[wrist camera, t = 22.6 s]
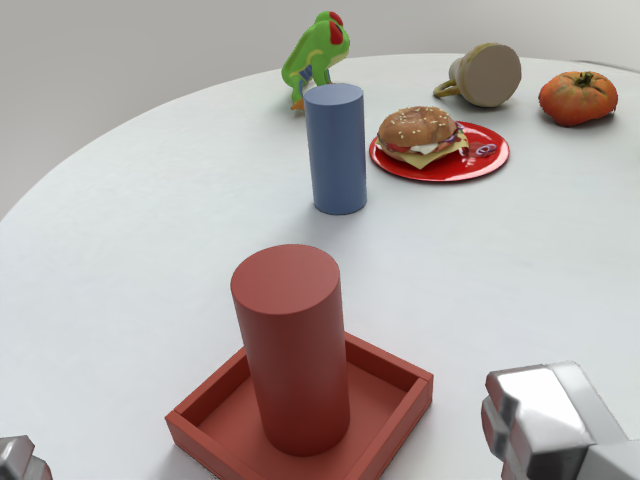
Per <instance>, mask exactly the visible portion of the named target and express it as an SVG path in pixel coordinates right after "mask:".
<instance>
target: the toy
mask: <svg viewBox="0 0 640 480" xmlns="http://www.w3.org/2000/svg"><path fill="white" fill-rule="evenodd" d="M349 46H350V40H349V36H348V34H347V33H346V31H345V30H344V29H343V22H342V20H341V19H340V17H339V16H338V15H337V14H336V13H334V12H329V11H325V12H322V13H320V14H319V15H318V16H317V18H316V21H315V23H314V25H312V26H311V27H310V28H309V29H308V30H307V31H306V32H305V33H304V34H303V36H302V37H301V39H300V40H299V42H298V44H297V45H296V47H295V49H294V50H293V52H292V53H291V55H290V57H289V58H288V59H287V61H286V62H285V64H284V66H283V68H282V78H283V80H284V81H285V83H286V84H287V85H289V86H291V87H293V94H292V99H293V102H294V105H293V106H292V107H291V110H294V109H301V110H303V111H305V108H304V100H303V95H302V88H303V86H304V85H305V84H307V83H308V82H309V81H311V80H312V79H313V78H314V81H315V83H316V84H317V86H321V85H327V84H336V83H332V82H331V80H330V75H329V70H328V68H330V67H331V66H333V65H334V64H336V63H338V62H340V61H342V60H343V59H345V58H346V56H347V55H348V52H349Z"/></svg>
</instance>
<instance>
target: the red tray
mask: <svg viewBox="0 0 640 480" xmlns="http://www.w3.org/2000/svg"><path fill="white" fill-rule="evenodd" d="M344 337H345V350H346V363H347V377H348V390H349V403H350V423H349V427H348V429H347V432H346V433H345V435H344V436H343V438H342V439H341V440H340V441H339V442H338V443H337V444H336V445H335V446H334V447H332V448H331V449H329V450H328V451H326V452H323V453H321V454H318V455H314V456H307V457H300V456H293V455H289V454H286V453H284V452H282V451H280V450H279V449H277V448H276V447H275V446H273V445H272V444H271V442H270V441H269V440H268V438H267V437H266V434H265V432H264V428H263V424H262V420H261V415H260V411H259V407H258V403H257V398H256V394H255V390H254V386H253V381H252V377H251V373H250V369H249V365H248V360H247V356H246V352H245V348H244V346H243V347H242V348H241V349H240V350H239V351H238V352H237V353H236V354H234V355H233V356H232V357H231V358H230V359H229V360H228V361H227V362H226V363H224V364H223V365H222V366H221V367H220V368H219V369H218V370H217V371H216V372H214V373H213V374H212V375H211V376H210V377H209V378H208V379H207V380H206V381H204V382H203V383H202V384H201V385H200V386H199V387H198V388H197V389H195V390H194V391H193V392H192V393H191V394H190V395H189V396H188V397H187V398H185V399H184V400H183V401H182V402H181V403H180V404H179V405H178V406H177V407H175V408H174V410H172V411H171V412H170V413H169V414H168V415H167V416H165V420H166V423H167V425H168V427H169V430H170V432H171V435H172V437H173V440H174V442H175V444H177V445H178V446H179V447H180V448H182V449H183V450H184V451H185V452H187V453H188V454H189V455H190V456H192V457H193V458H194V459H195V460H197V461H198V462H199V463H201V464H202V465H203V466H204V467H206V468H207V469H208V470H209V471H211V472H212V473H213V474H214V475H216V476H217V477H218V478H219V479H221V480H378V479H379V477H380V476H381V475H382V473H383V472H384V470H385V469H386V467H387V466H388V464H389V463H390V462H391V460H392V459H393V457H394V456H395V454H396V453H397V451H398V450H399V449H400V447H401V446H402V444H403V443H404V441H405V440H406V438H407V437H408V435H409V434H410V433H411V431H412V430H413V428H414V427H415V425H416V424H417V422H418V421H419V420H420V418H421V417H422V415H423V414H424V412H425V411H426V409H427V408H428V406H429V405H430V404H431V402H432V392H433V377H434V375H433V374H431V373H429V372H427V371H425V370H423V369H421V368H419V367H417V366H415V365H413V364H411V363H409V362H407V361H405V360H403V359H400V358H398V357H396V356H394V355H392V354H390V353H388V352H386V351H384V350H382V349H380V348H378V347H376V346H374V345H372V344H370V343H368V342H365V341H363V340H361V339H359V338H357V337H355V336H353V335H351V334H349V333H347V332H345V331H344Z"/></svg>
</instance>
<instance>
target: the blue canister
mask: <svg viewBox="0 0 640 480" xmlns="http://www.w3.org/2000/svg"><path fill="white" fill-rule="evenodd" d="M303 98H304V108H305V118H306V127H307V137H308V147H309V157H310V167H311V177H312V187H313V197H314V204H315V206H316V208H317V209H318V210H320V211H322V212H324V213H327V214H333V215H342V214H349V213H352V212H355V211H357V210H359V209H361V208H362V207H363V206H364V205H365V204H366V201H367V190H366V160H365V130H364V99H363V90H362V89H361V88H359V87H357V86H354V85H350V84H327V85H321V86H318V87H315V88H312V89H310V90H308V91H307V92H306V93H305V94H304V96H303Z"/></svg>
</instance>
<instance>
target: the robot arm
mask: <svg viewBox="0 0 640 480" xmlns="http://www.w3.org/2000/svg"><path fill="white" fill-rule="evenodd" d="M485 386H486V388H487V391H488V393H489V395H488V396H487V397H486V398H485V399H484V400H483V401H482V409H481V417H482V426H483V431H484V434H485V438H486V441H487V443H488V446H489V448H490V451H491V453H492V454H493V455H495V456H496V457H497V458H499V459H500V460H501V461H502V462H504V464H503V469H502V473H501V478H502V480H640V440H639V439H637V440H629V438H628V437H627V435H626V434H625V432H624V431H623V429H622V428H621V426H620V425H619V423H618V422H617V420H616V419H615V417H614V416H613V415H612V413H611V412H610V410H609V409H608V407H607V406H606V404H605V403H604V401H603V400H602V398H601V397H600V395H599V394H598V392H597V391H596V389H595V388H594V386H593V385H592V383H591V382H590V380H589V379H588V377H587V376H586V374H585V373H584V371H583V370H582V368H581V367H580V365H578V364H577V363H576V362H574V361H565V362H559V363H552V364H546V365H543V364H539V365H533V366H526V367H519V368H513V369H506V370H499V371H492V372H490V373H489V374H488V375H487V378H486V384H485ZM34 448H35V445H34V444H33V443H32V441H31V440H30V439H29V438H28V436H27V435H24V436H15V437H6V438H0V480H53V479H52V475H51V471H50V468H49V467H48V465H47V463H46V462H45V461H44V460H42V459H40V458H37V457H35V456H33V455H32V453H33V450H34Z"/></svg>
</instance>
